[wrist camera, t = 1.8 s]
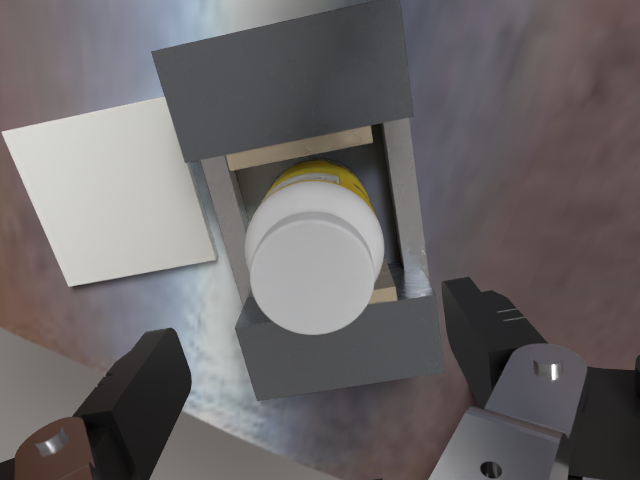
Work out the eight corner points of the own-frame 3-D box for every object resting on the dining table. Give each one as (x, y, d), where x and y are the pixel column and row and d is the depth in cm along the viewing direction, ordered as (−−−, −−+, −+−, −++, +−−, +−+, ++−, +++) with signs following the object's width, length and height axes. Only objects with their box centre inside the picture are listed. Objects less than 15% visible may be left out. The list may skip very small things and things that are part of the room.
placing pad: (8, 131, 25) (1, 131, 24) (170, 95, 24) (166, 96, 23) (73, 282, 28) (68, 286, 27) (218, 256, 27) (216, 259, 26)
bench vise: (180, 61, 23) (142, 53, 18) (391, 14, 22) (408, -7, 18) (262, 352, 29) (250, 402, 25) (431, 325, 28) (451, 371, 24)
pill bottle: (370, 249, 27) (398, 349, 16) (274, 257, 27) (241, 359, 17) (365, 151, 25) (393, 193, 14) (262, 160, 25) (215, 207, 14)
